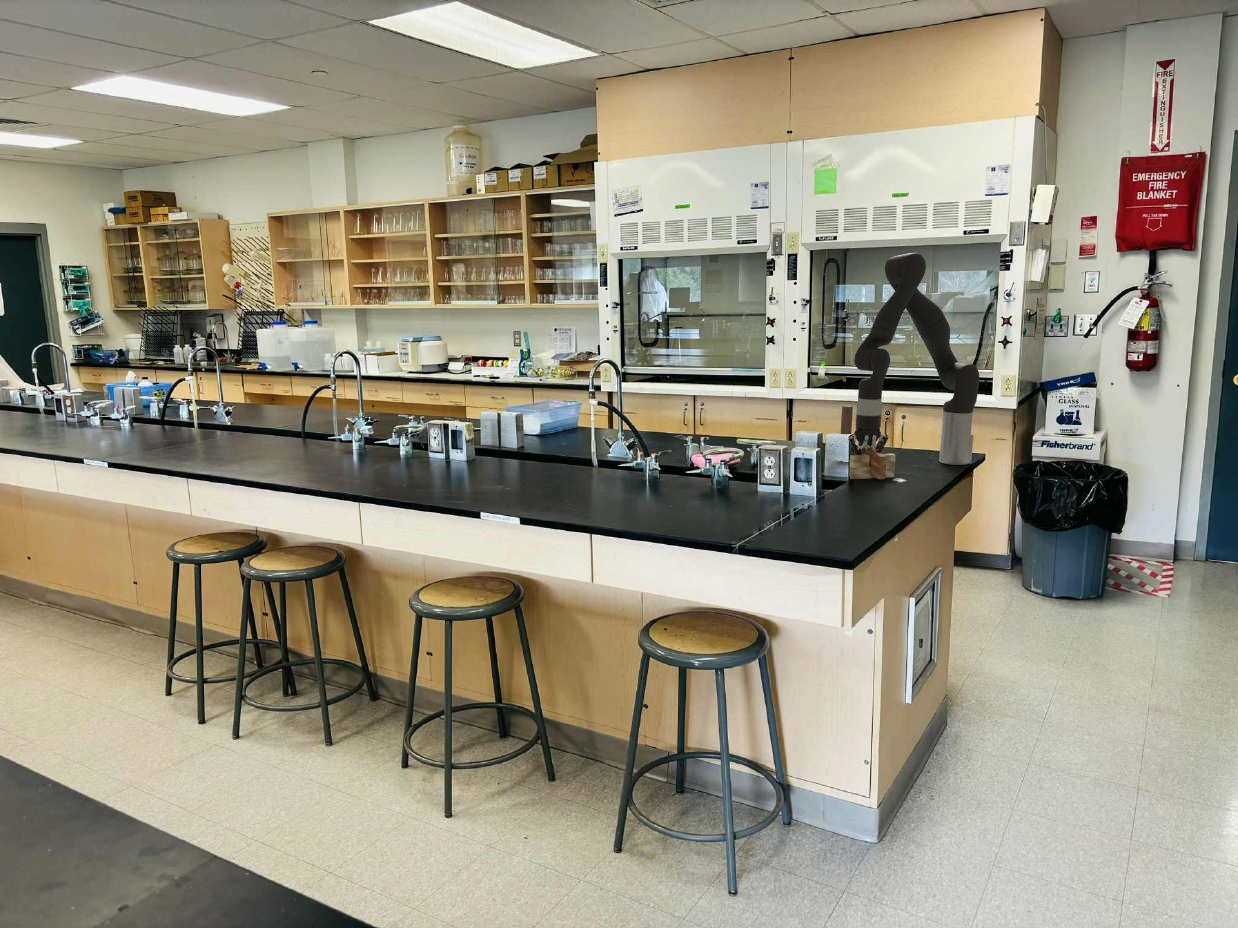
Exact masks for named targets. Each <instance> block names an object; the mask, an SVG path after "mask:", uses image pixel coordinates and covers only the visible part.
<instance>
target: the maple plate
mask: <svg viewBox="0 0 1238 928" xmlns="http://www.w3.org/2000/svg"><path fill="white" fill-rule="evenodd" d="M882 454H883V455H885V456H887V463H886V476H885V478H895V467H896V454H895V453H882ZM869 458H870V456H868V455H850V459H849V471H848V472H849V473H848V477H849V476H850V478H849V479H851V480H859V479H862V480H863V479H876V478H875V477H873V476H871V466H872V465H870V466H869Z"/></svg>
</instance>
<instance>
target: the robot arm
mask: <svg viewBox="0 0 1238 928" xmlns="http://www.w3.org/2000/svg"><path fill="white" fill-rule="evenodd" d="M926 271H927V263H926V260H925V258H924V256H923V255H922V254H920V253H918V252H910V253H909V252H908V253H904V254H900V255H895V256H891V257H890V258H888V259H887V260H886V262H885V264H884V274H885V276H886V279H887V281H888V283H889V285H890V286H891V287H892V289H893V290H894V292H893V294H892V295H891V296H890V297H889V298H888V300H887V301H886V302H885V303H884V304H883V306H882V307H881V308H880V309H879V311H878V313H876V316H875V319H874V321H873V324H872V326H871V329H870V332H869V333H868V334H867V336H866V337H865V338H864V340H863V341H862V343H861V344H860V346H859V347H858V349H856V352H855V354H854V365H855V368H857V370H860V371H864V372H865V371H867V372H872V374H871V375H870V377H869V378H868V377H867V378H863V379H861V380H860V381H859V382H858V391H857V393H858V394H857V401H856V402H857V403H856V412H855V431H854V433H853V434H854V435H853V434H852V435H853V436H854V443H853V439H852V438H853V437H852V435H851V437H848V438H849V439H848V440H849V442H850V444H851V445H850V446H851V451H852V453H853V454H856V455H865V450H866V447H868V448H869V449H871V450H874V451H876V452H878V453H881V454H882V451H883V449H884V447H885V446H886V444H887V442H888V440H889V437H888V436H887V435H883V434H882V432H881V426H882V414H883V413H882V412H883V403H882V399H883V398H882V396H883V386H884V382H885V379H886V376H887V373H888V370H889V368H890V364H891V355H890V353H889V352H888V351H887V349H885V348H881V347H884V346H888V345H890V344H891V342H892V341H893V338H894V336H895V333H896V330H897V328H898V325H899V323H900V320H901V318H902V316H903V313H904V312H905V310H906V311H907V313H908V315H909V316H910V318H911V320H912V322H913V324H914V327H915V328H916V330H917V332H918V334H919V337H920V338H921V340H922V341H923V343H924V345H925V347H926V349H927V351H928V353H929V356H930V357H931V359H932V361H933V364H934V367H935V369H936V371H937V374H938V378H939V379H940V382H941V383H942V385H943V386H944V387H945V388H947V389H948V390H951V391H953V397H952V398H951V399H949V400H946V401H945V402H944V403H943V408H942V420H941V421H942V422H941V433H940V446H939V456H938V457H939V460H938V461H939V462H940V463H941V464H946V465H955V466H957V465H959V466H961V465H962V466H963V465H968V464H972V458H973V457H972V456H973V444H974V434H972V426H973V416H974V415H973V414H974V413H973V412H974V408H975V406H976V404H977V399H978V392H979V386H980V371H979V369H978V368H977V366H976V365H975V364H971V363H966V362H960V361H958V359H957V358H956V356H955V354H954V353H953V351H952V348H951V346H950V342H951V327H950V325H949V322H948V319H947V318H946V316H945V314H944V311H942V309H941V308H940V306H938V305H937V303H935V302H934V301H932V299H930V298H929V297H927V296H926V295H925V294H924V293H922V292H921V291H920V290H919V286H920V284H921V283H922V281H923V278H924V276H925V274H926ZM856 442H857V444H856Z"/></svg>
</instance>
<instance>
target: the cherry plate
mask: <svg viewBox="0 0 1238 928" xmlns="http://www.w3.org/2000/svg"><path fill="white" fill-rule="evenodd" d="M883 454H884V453H882V452H881V453H878V452H876V451H874V450H871V449H869V448H867V447H866V450H865V455H868V456H870V458H869V466H870V465H872V466H871V476H873V477H875V478H874V479H877V480H886V477H885V476H886V463H887V456H885V455H883Z"/></svg>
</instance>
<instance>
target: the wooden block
mask: <svg viewBox="0 0 1238 928" xmlns="http://www.w3.org/2000/svg"><path fill="white" fill-rule="evenodd" d="M853 412H854V407H853V406H852V405H847V404H845V405H842V407H841V416H840V417H841V418H840V419H841V420H840V434H851V435H854V433H853V431H852V430H853ZM852 433H853V434H852ZM867 448H868V447H867ZM854 455H856V454H854Z"/></svg>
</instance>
